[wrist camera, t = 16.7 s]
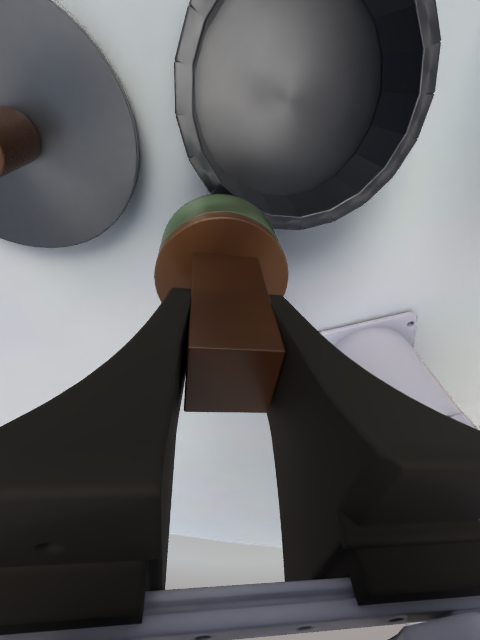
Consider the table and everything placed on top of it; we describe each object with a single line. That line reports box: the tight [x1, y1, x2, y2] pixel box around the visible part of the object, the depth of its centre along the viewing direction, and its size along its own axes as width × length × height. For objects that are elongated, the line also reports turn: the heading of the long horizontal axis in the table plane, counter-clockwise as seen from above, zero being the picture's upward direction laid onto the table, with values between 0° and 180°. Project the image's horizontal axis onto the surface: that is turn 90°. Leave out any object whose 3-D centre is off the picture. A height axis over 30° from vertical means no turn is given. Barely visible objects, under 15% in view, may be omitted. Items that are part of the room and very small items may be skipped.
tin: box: [174, 0, 441, 230], centre depth 14 cm, size 10×10×4 cm
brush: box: [154, 194, 288, 413], centre depth 12 cm, size 5×5×8 cm
